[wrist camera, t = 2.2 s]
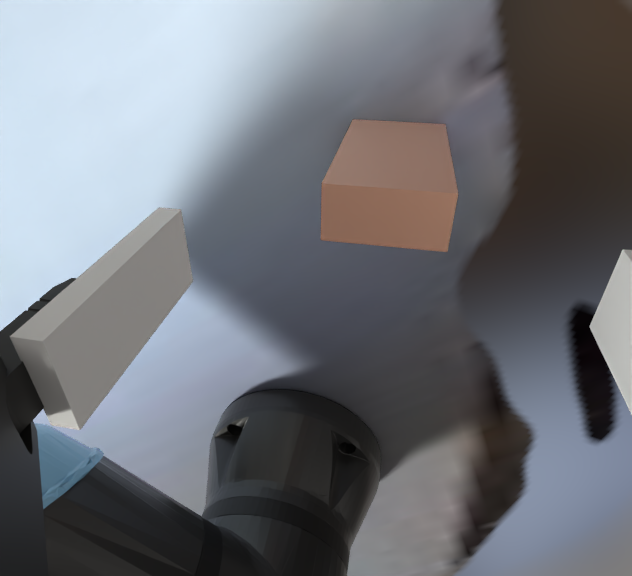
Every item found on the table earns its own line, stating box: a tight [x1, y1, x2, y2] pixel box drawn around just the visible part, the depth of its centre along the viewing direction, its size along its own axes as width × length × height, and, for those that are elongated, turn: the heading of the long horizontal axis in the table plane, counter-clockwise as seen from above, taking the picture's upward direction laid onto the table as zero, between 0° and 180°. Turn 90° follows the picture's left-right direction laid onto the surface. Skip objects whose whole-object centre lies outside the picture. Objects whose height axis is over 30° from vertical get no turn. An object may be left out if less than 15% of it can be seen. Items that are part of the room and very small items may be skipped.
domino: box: [321, 119, 458, 252], centre depth 22 cm, size 2×5×10 cm, turn 90°
